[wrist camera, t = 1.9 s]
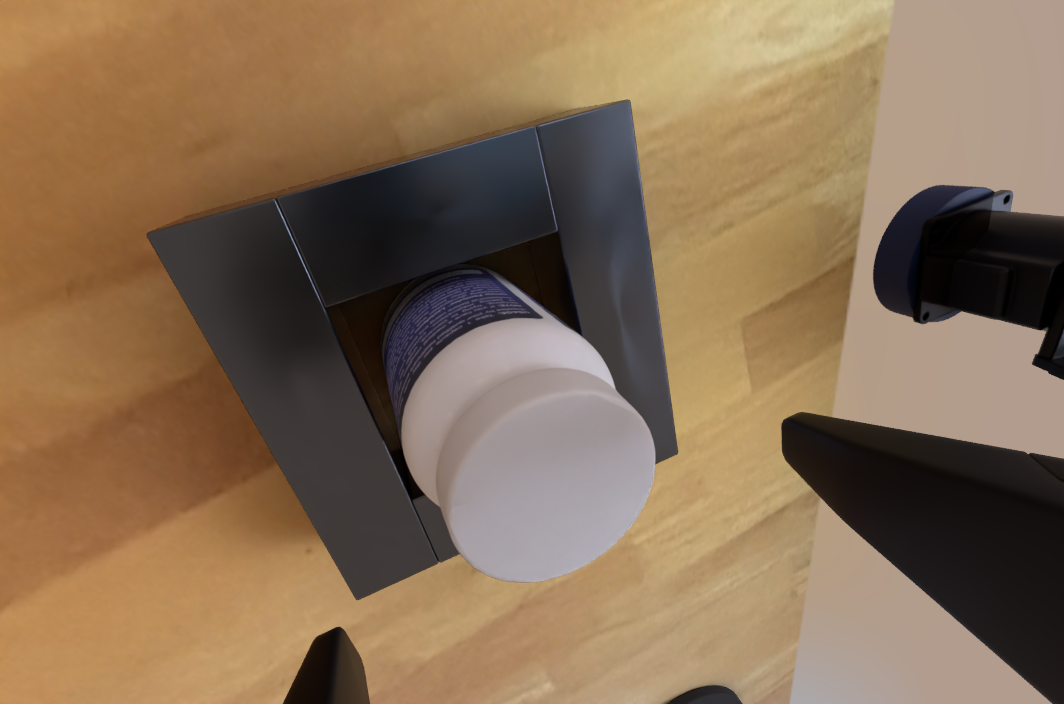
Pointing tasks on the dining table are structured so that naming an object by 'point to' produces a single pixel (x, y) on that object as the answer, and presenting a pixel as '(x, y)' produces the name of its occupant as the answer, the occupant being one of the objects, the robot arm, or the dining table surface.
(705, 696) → the coaster
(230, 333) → the stand
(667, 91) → the dining table surface
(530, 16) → the dining table surface
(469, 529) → the pill bottle
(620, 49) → the dining table surface
